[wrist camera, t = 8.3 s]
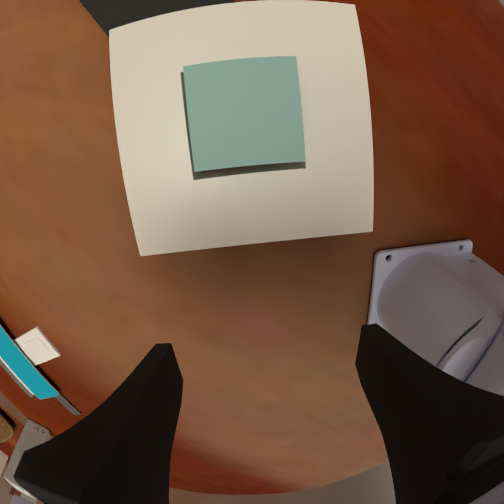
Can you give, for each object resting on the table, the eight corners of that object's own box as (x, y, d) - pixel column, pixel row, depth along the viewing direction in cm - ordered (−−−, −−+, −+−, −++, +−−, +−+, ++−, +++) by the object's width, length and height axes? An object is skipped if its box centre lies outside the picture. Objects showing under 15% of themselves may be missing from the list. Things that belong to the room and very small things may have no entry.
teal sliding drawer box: (114, 404, 26) (110, 415, 24) (58, 413, 28) (54, 422, 26) (-7, 251, 19) (-18, 258, 17) (-40, 293, 20) (-48, 300, 19)
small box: (29, 472, 42) (19, 499, 32) (43, 482, 44) (35, 509, 34) (18, 469, 43) (8, 494, 34) (32, 479, 45) (23, 504, 36)
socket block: (338, 21, 13) (354, 4, 10) (354, 216, 18) (372, 231, 15) (128, 43, 13) (109, 30, 11) (154, 237, 18) (140, 256, 16)
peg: (275, 85, 15) (296, 56, 9) (280, 150, 17) (305, 161, 10) (206, 92, 15) (183, 66, 9) (213, 157, 17) (194, 172, 10)
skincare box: (27, 417, 28) (0, 475, 17) (51, 430, 29) (26, 491, 18) (34, 434, 30) (11, 486, 19) (56, 446, 31) (36, 501, 20)
